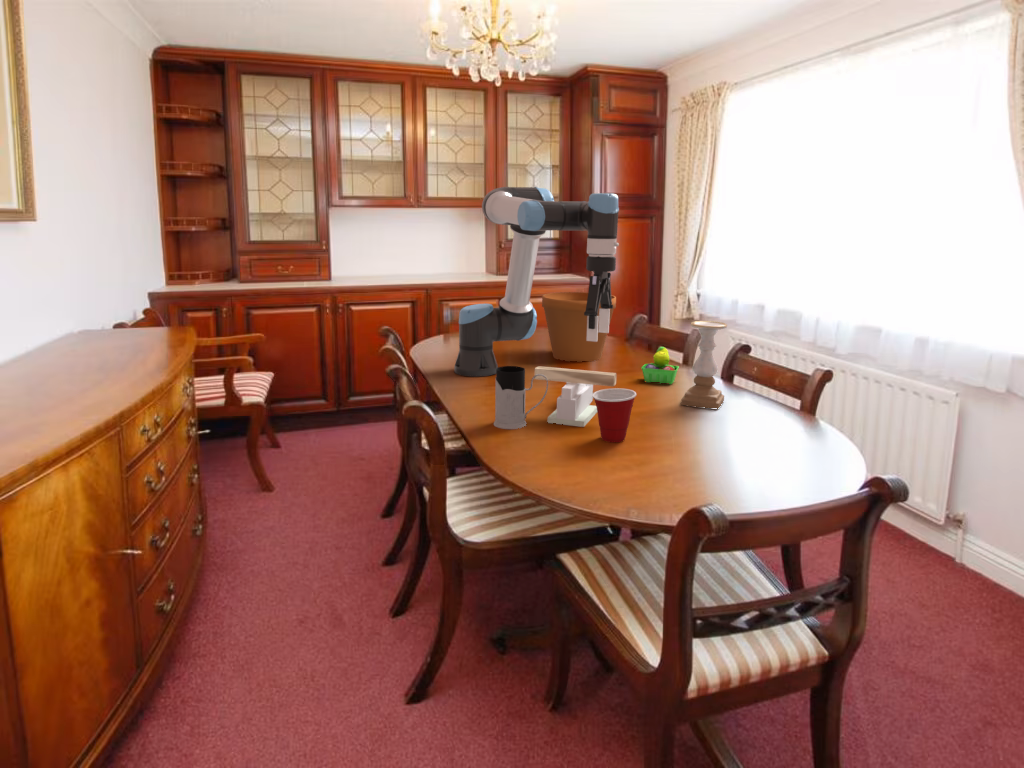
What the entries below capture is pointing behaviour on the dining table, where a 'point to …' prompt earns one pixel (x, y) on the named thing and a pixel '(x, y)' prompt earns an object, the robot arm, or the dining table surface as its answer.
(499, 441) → the dining table surface
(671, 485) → the dining table surface
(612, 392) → the plastic cup
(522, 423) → the glass holder
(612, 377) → the birch batten
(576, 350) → the flowerpot
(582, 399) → the ridge stand
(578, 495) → the dining table surface
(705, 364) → the candle holder
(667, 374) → the fruit basket
